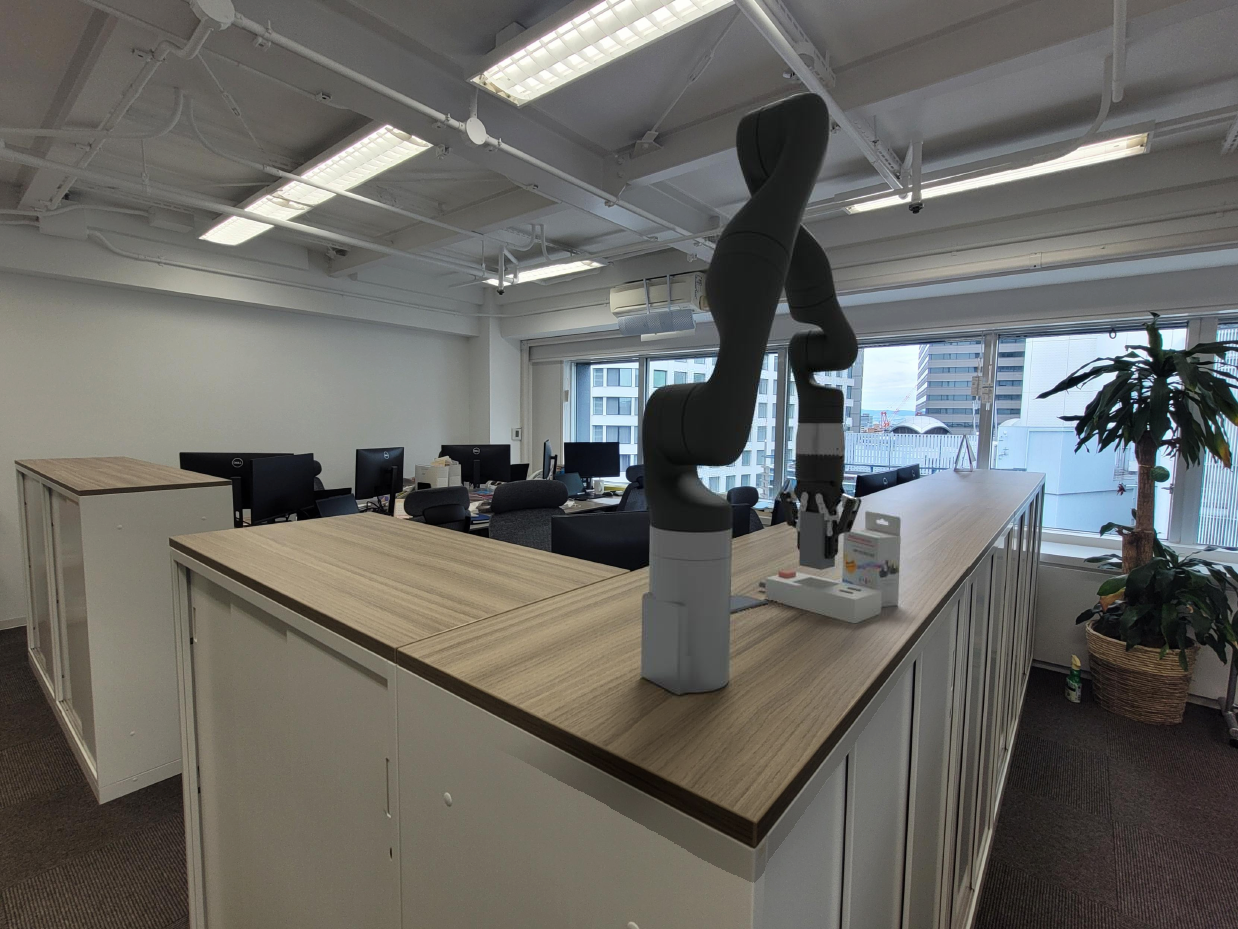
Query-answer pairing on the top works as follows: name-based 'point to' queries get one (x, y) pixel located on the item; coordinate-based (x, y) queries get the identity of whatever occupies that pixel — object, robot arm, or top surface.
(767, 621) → the top surface
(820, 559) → the charger
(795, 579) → the power strip
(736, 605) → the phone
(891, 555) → the ink box
